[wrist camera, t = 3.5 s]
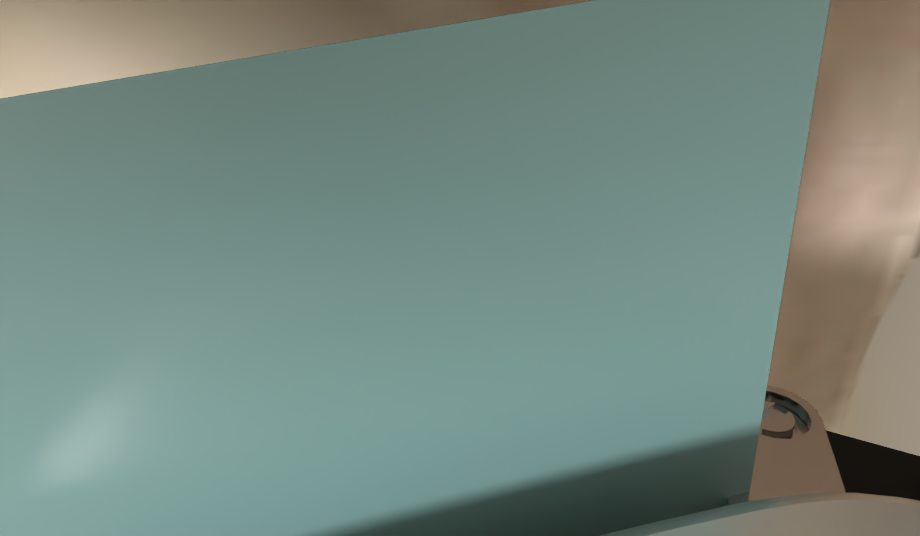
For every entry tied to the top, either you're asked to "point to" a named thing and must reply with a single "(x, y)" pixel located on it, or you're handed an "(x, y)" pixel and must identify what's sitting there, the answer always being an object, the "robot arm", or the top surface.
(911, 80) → the top surface
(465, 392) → the teal rectangular block
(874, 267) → the top surface
